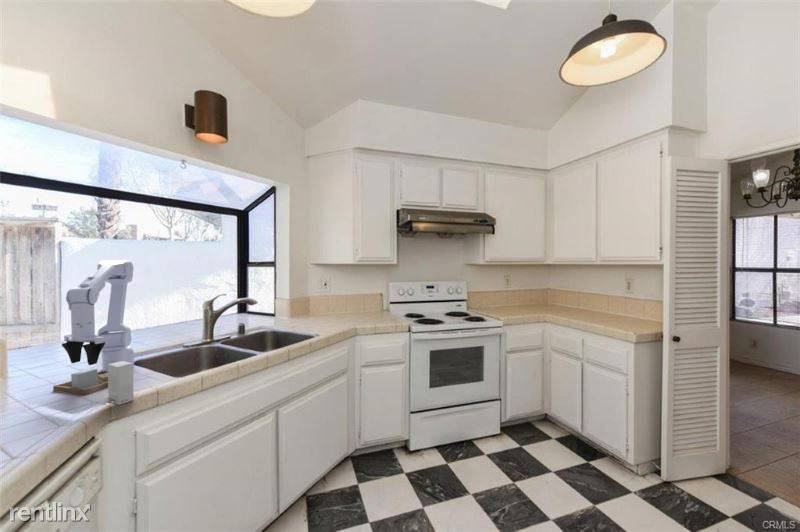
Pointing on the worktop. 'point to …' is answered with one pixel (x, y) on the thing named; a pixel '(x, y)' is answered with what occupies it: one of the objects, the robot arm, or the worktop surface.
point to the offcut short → (102, 378)
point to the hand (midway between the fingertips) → (84, 363)
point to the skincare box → (120, 382)
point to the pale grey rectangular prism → (84, 379)
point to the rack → (67, 389)
